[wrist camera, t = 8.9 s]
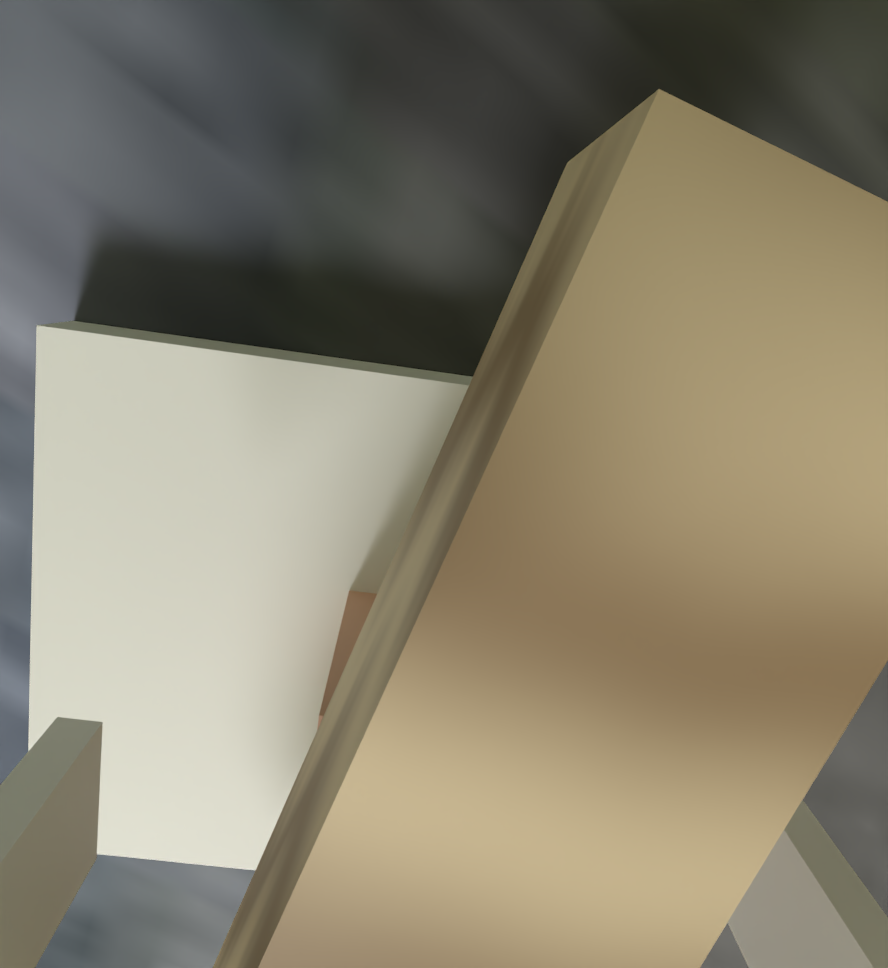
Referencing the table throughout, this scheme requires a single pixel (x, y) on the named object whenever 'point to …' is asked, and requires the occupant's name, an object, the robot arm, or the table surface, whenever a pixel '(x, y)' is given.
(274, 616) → the fulcrum
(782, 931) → the robot arm
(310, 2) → the table surface
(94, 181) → the table surface
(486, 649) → the oak bar
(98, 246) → the table surface
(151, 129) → the table surface
